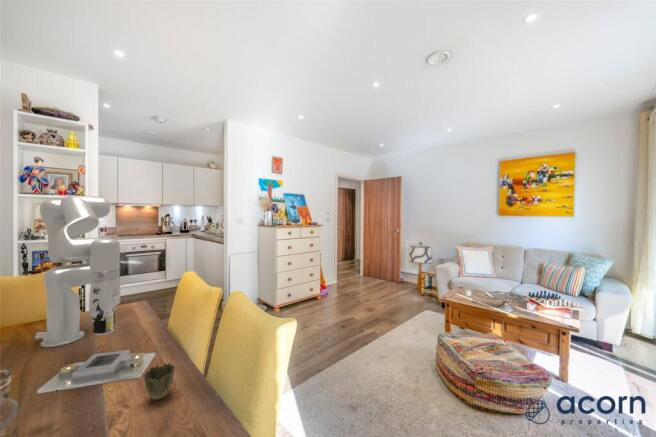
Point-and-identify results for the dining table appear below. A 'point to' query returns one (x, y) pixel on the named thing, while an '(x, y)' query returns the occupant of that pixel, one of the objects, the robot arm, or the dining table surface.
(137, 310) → the dining table surface
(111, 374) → the gray plate
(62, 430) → the dining table surface
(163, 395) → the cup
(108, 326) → the supplement bottle
